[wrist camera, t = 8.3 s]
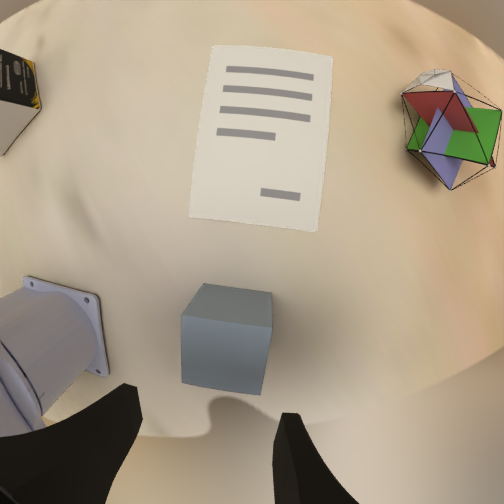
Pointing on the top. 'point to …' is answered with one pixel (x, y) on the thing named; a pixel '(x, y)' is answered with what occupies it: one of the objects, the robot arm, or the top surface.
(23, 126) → the medicine bottle
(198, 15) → the top surface
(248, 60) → the letter
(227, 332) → the slate cube
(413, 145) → the geometric puzzle
